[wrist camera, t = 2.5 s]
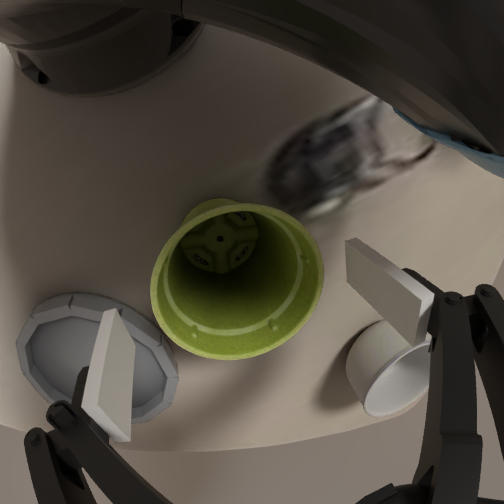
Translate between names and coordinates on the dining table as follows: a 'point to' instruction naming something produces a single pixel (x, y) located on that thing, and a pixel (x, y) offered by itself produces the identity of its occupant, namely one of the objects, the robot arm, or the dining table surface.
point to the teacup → (387, 369)
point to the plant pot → (236, 280)
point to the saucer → (81, 349)
